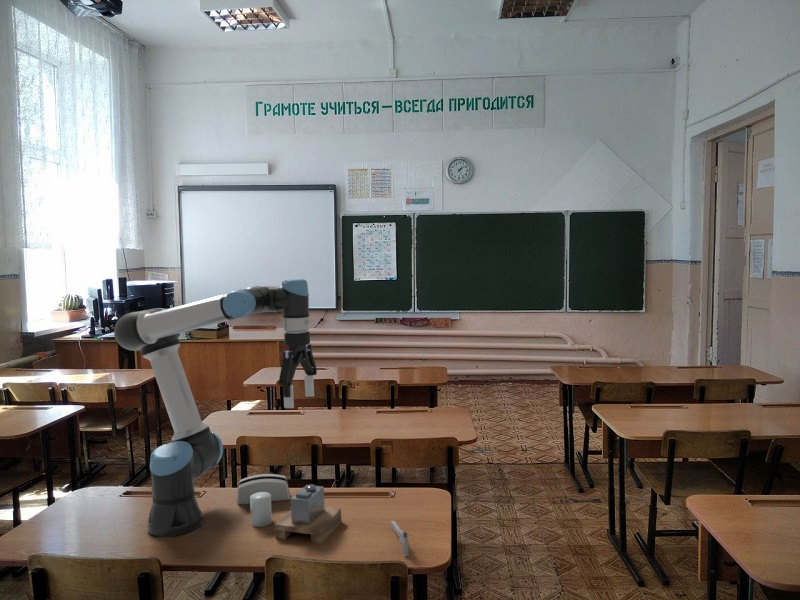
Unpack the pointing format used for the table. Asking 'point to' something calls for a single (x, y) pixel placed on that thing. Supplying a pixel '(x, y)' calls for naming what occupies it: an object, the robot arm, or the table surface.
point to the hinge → (263, 487)
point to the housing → (307, 504)
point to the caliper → (401, 537)
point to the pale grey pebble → (260, 509)
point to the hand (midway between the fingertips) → (299, 401)
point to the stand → (317, 528)
